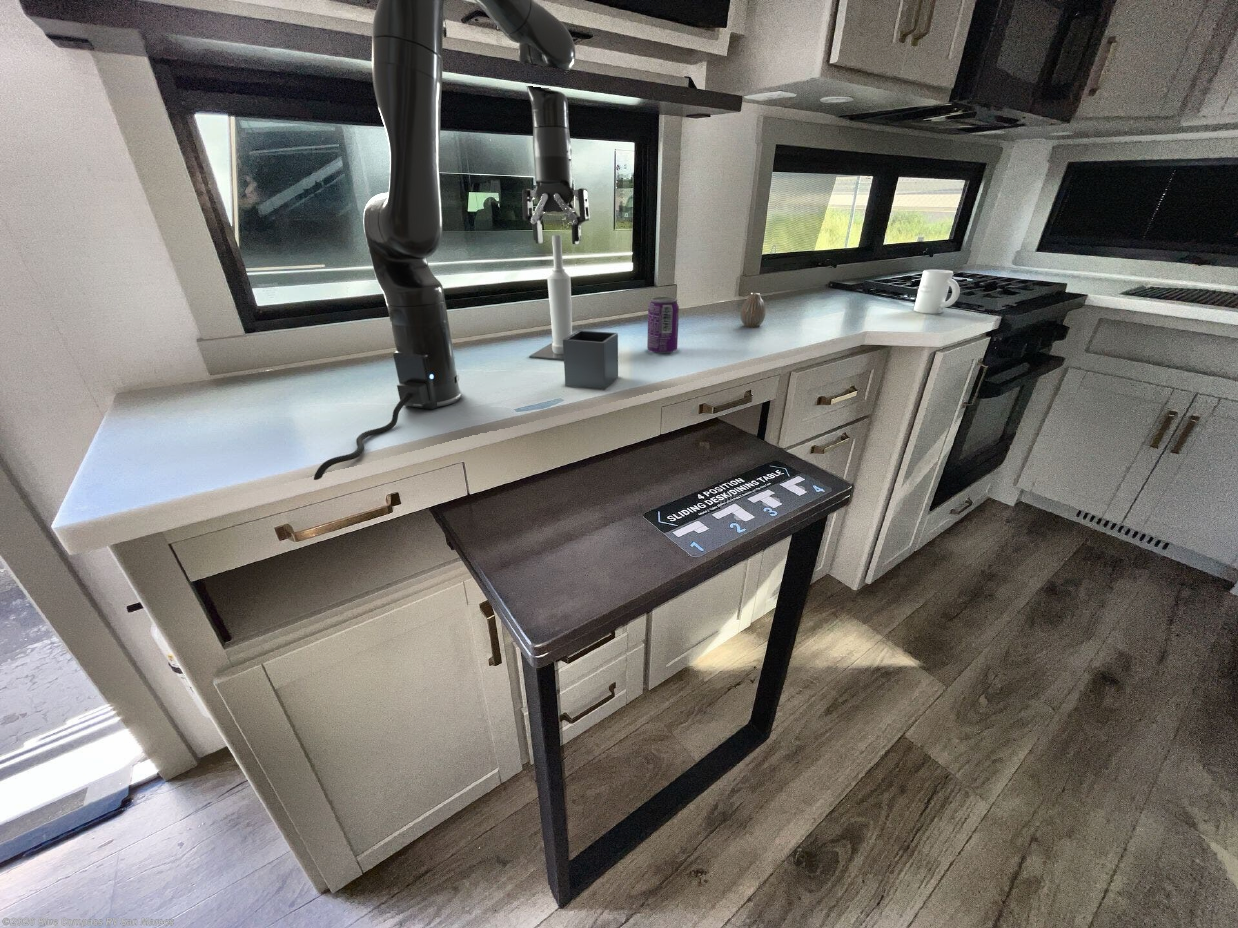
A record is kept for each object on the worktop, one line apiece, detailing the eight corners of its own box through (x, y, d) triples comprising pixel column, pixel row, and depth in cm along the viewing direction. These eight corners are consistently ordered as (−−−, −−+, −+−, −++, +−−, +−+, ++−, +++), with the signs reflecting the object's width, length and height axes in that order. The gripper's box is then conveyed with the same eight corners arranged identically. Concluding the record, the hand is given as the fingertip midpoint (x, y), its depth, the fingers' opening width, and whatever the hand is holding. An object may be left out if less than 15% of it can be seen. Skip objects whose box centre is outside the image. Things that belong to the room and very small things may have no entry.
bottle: (554, 355, 117) (546, 236, 105) (550, 349, 121) (542, 235, 109) (576, 353, 118) (570, 236, 106) (572, 347, 122) (566, 234, 111)
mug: (944, 317, 153) (956, 275, 147) (907, 310, 162) (917, 270, 156) (960, 314, 156) (972, 273, 151) (923, 307, 165) (933, 268, 160)
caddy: (605, 390, 96) (604, 343, 92) (565, 386, 98) (562, 339, 94) (618, 377, 103) (617, 332, 99) (580, 373, 105) (579, 330, 101)
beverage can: (682, 350, 121) (685, 298, 116) (668, 357, 116) (670, 303, 110) (656, 346, 125) (658, 295, 119) (641, 352, 120) (642, 300, 114)
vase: (735, 326, 143) (738, 294, 139) (745, 322, 148) (748, 290, 144) (758, 329, 140) (762, 296, 136) (767, 324, 145) (771, 293, 141)
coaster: (577, 361, 113) (577, 360, 113) (529, 357, 116) (529, 356, 116) (596, 348, 123) (596, 346, 123) (551, 345, 126) (551, 343, 126)
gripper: (511, 155, 100) (519, 244, 108) (578, 153, 96) (581, 245, 104) (529, 158, 106) (535, 242, 114) (592, 156, 102) (594, 243, 110)
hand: (557, 243), depth 109 cm, fingers open, 8 cm apart
